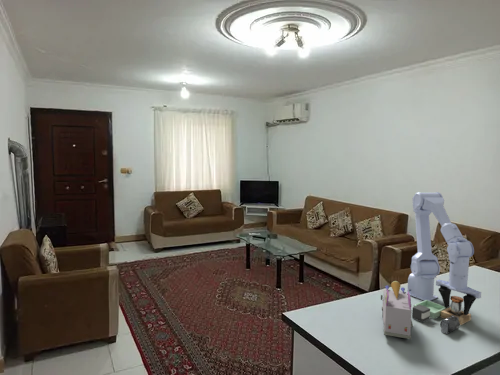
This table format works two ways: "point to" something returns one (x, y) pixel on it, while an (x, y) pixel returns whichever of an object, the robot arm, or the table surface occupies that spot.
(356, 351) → the table surface
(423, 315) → the block
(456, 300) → the pin
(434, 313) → the tray
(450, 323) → the trolley wheel
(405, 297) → the toy vehicle
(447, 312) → the socket block
